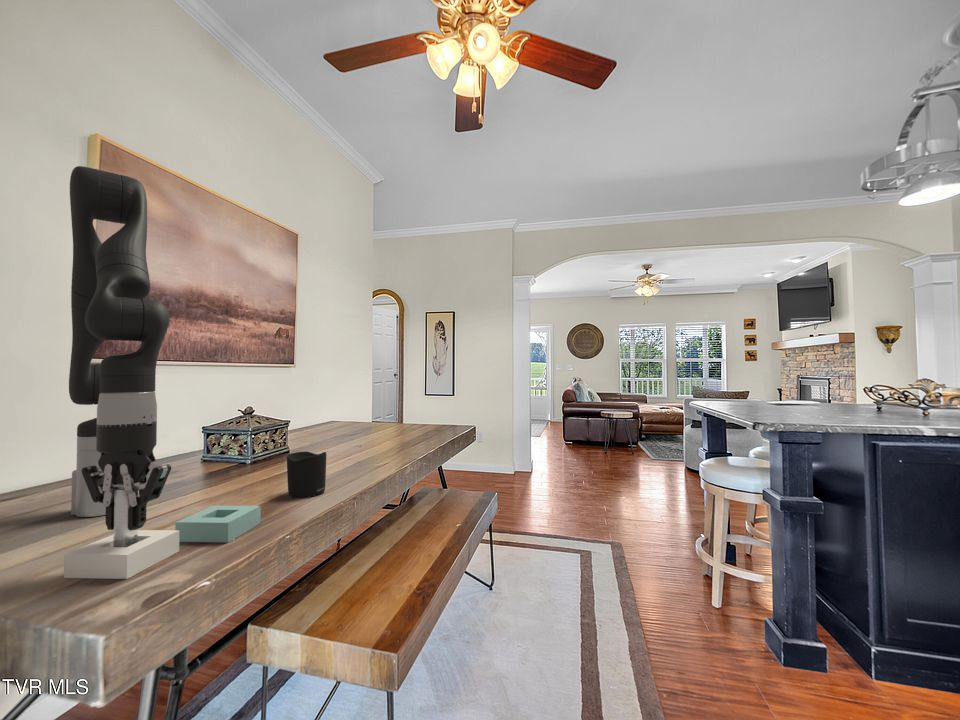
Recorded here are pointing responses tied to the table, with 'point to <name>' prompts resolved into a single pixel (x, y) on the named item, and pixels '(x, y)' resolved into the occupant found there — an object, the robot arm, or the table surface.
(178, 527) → the block
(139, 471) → the robot arm
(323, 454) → the pen holder
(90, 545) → the socket block
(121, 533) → the gray rectangular bar
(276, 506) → the table surface
